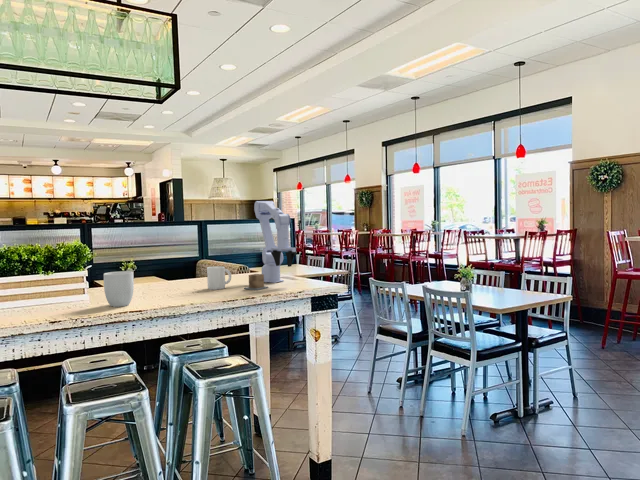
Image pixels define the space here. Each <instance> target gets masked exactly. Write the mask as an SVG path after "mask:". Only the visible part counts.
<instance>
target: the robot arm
mask: <svg viewBox="0 0 640 480" xmlns="http://www.w3.org/2000/svg"><path fill="white" fill-rule="evenodd" d="M253 208H254V209H253V211H254V213H255V214H254V215H255V217H256V219H257V220H259V224H260V229H261V231H262V232H261V233H262V236H263V237H262V238H263V241H264V244H265V248H264V249H263V250H262V251H261V254H262V257H261V258H262V263H263V266H262V267H261V274H264V283H274V284H275V283H280V282H284V281H285V280H284V279H281V265H282V263H283V261H284V254H283V252H285V256H286V262H287V264H286V265H287V267H288V268H289V267H292V265H293V261H294V259H295V255H296V253H297V252H296V251H297V247H292V246H291V247H290V235H289V233H290V232H289V231H290V229H289V227H290V225H291V222H292V221H291V216H290V214H289V213H284V212H283V211H282V210H281V209H280V208H279V207H276V204H275V202H274V201H273V200H256V201H255V202H254V207H253ZM270 219H273V220H274V224H275V230H276V237H277V238H276V240H277V241H276V243H277V244H276V243H275V239H274V236H273V231H272V228H271V224H270Z"/></svg>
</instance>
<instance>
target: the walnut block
mask: <svg viewBox="0 0 640 480" xmlns="http://www.w3.org/2000/svg"><path fill="white" fill-rule="evenodd" d="M264 286H265V282H264V274H262V273H253V274H249V275H248V287H249V288H261V287H264Z"/></svg>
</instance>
